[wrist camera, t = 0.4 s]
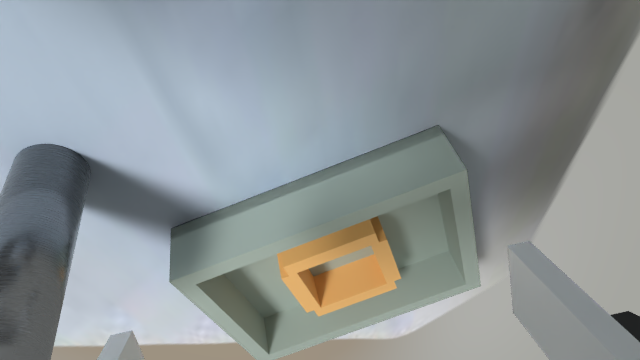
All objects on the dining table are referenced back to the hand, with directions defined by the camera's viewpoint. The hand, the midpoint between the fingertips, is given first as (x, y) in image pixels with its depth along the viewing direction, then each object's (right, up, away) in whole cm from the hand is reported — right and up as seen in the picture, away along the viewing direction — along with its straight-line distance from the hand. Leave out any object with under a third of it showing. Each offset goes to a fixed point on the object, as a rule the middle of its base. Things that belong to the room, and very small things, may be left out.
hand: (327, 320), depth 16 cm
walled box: (+1, 0, +21) cm, 21 cm away
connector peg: (-16, +5, +11) cm, 20 cm away
